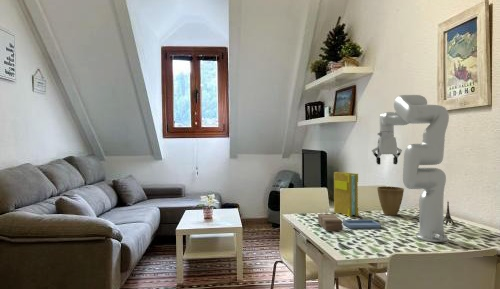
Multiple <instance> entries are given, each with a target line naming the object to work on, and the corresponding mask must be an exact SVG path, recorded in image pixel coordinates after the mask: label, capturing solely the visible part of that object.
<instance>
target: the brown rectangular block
mask: <svg viewBox="0 0 500 289" xmlns="http://www.w3.org/2000/svg"><path fill="white" fill-rule="evenodd" d="M317 215H318V216H317V220H318V224H319V226H321V227H322V228H323V229H324V231H326V232H327V231H328V232H331V231H335V232H336V231H338V232H339V231H343V220H342V219H340V218H339V217H337V216H336V215H335V214H333V213H332V214H331V213H329V214H328V213H323V214H321V213H319V214H317Z"/></svg>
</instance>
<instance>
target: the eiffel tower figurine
mask: <svg viewBox="0 0 500 289" xmlns="http://www.w3.org/2000/svg"><path fill="white" fill-rule="evenodd" d="M446 203H447V204H446V205H447V206H446V213H445V216H444V221H446V223H445V225H444V226H448V225H447V223H448V222H449V223H451V222H452V223H453V225H452V226H456V225H457V223H456V222H454V220H453V218H452V217H451V216H452V215H451V214H450V206H449V204H450V202H449V201H447V202H446Z"/></svg>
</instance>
